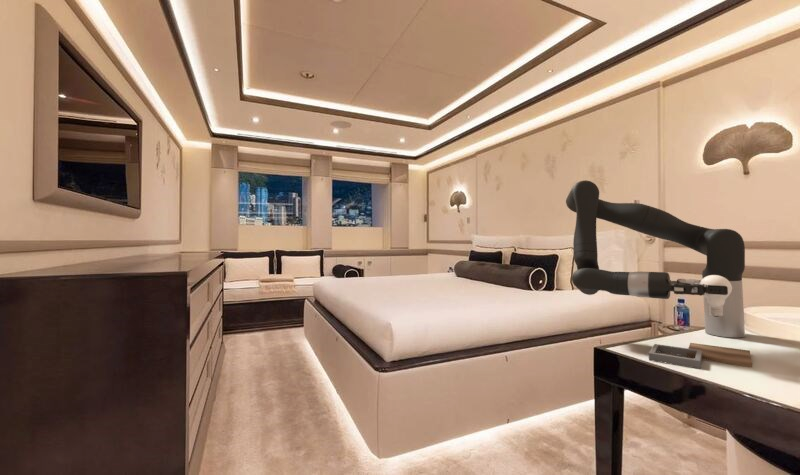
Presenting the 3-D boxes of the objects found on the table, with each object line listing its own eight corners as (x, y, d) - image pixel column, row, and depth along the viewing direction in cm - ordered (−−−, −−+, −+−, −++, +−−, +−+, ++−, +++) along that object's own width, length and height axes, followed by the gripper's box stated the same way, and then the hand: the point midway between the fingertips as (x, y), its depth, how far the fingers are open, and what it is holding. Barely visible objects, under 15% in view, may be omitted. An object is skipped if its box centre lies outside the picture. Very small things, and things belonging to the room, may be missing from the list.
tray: (655, 350, 97) (654, 343, 97) (702, 357, 90) (702, 350, 90) (649, 360, 89) (648, 353, 89) (700, 368, 82) (699, 361, 82)
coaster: (690, 346, 99) (690, 342, 99) (750, 354, 91) (749, 350, 91) (686, 357, 90) (686, 353, 90) (752, 367, 82) (752, 363, 82)
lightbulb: (736, 317, 90) (735, 274, 90) (728, 321, 86) (726, 276, 86) (705, 313, 95) (704, 273, 95) (696, 316, 92) (694, 275, 92)
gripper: (643, 273, 95) (727, 276, 84) (651, 269, 106) (727, 271, 94) (644, 301, 95) (728, 307, 84) (652, 294, 106) (728, 299, 94)
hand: (727, 288), depth 89 cm, fingers closed on lightbulb, 6 cm apart
